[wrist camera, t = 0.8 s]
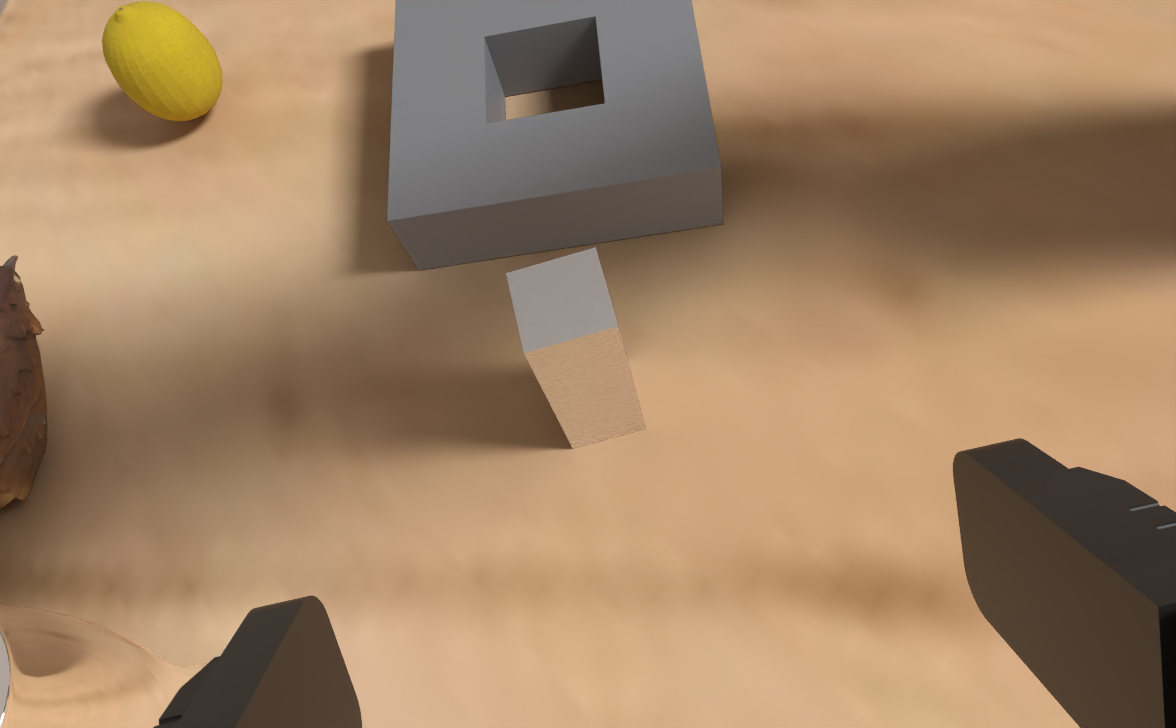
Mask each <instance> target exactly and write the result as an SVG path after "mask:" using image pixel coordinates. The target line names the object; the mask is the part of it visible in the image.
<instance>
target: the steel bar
mask: <svg viewBox="0 0 1176 728" xmlns="http://www.w3.org/2000/svg"><path fill="white" fill-rule="evenodd" d="M506 276H507V281H508V285H509V290H510V294H511V299H512V303H513V308H514V312H515V316H516V321H517V325H518V330H519V334H520V339H521V343H522V348H523V352H524V355H525V357H526V359H527V361H528V363H529V365H530V366H531V368H532V370H533V372H534V374H535V376H536V378H537V380H538V382H539V384H540V386H541V388H542V390H543V392H544V394H545V396H546V398H547V400H548V401H549V403H550V405H551V407H552V409H553V411H554V413H555V415H556V417H557V419H558V421H559V423H560V425H561V427H562V429H563V431H564V433H565V435H566V436H567V438H568V440H569V442H570V444H571V446H572V448H573V449H574V448H578V447H581V446H585V445H588V444H592V443H595V442H599V441H603V440H606V439H610V438H613V437H617V436H620V435H624V434H628V433H631V432H635V431H638V430H642V429H646V426H645V422H644V418H643V415H642V411H641V407H640V403H639V400H638V396H637V392H636V389H635V385H634V381H633V378H632V374H631V370H630V367H629V363H628V359H627V356H626V352H625V348H624V345H623V341H622V337H621V334H620V330H619V326H618V323H617V319H616V316H615V312H614V309H613V305H612V302H611V298H610V295H609V291H608V288H607V284H606V281H605V277H604V274H603V270H602V267H601V263H600V260H599V257H598V253H597V250H596V247H595V248H591V249H588V250H584V251H581V252H577V253H574V254H570V255H567V256H564V257H560V258H557V259H553V260H550V261H546V262H543V263H539V264H536V265H532V266H529V267H525V268H522V269H519V270H515V271H512V272H508V273H506Z"/></svg>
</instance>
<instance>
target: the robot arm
mask: <svg viewBox="0 0 1176 728" xmlns="http://www.w3.org/2000/svg"><path fill="white" fill-rule="evenodd" d="M953 477H954V485H955V493H956V501H957V509H958V518H959V526H960V534H961V542H962V550H963V558H964V566H965V572H966V576H967V580H968V583H969V586H970V589H971V592H972V594H973V597H974V599H975V601H976V603H977V605H978V607H979V609H980V611H981V612H982V614H983V615H984V617H985V618H986V619H987V621H988V622H989V623H990V624H991V625H992V626H993V627H994V629H995V630H996V631H997V632H998V633H999V634H1000V636H1001V637H1002V638H1003V639H1004V640H1005V641H1006V642H1007V644H1008V645H1009V646H1010V647H1011V648H1012V649H1013V650H1014V652H1015V653H1016V654H1017V655H1018V656H1019V657H1020V659H1021V660H1022V661H1023V662H1024V663H1025V664H1026V665H1027V667H1028V668H1029V669H1030V670H1031V671H1032V672H1033V674H1034V675H1035V676H1036V677H1037V678H1038V679H1039V680H1040V682H1041V683H1042V684H1043V685H1044V686H1045V687H1046V689H1047V690H1048V691H1049V692H1050V693H1051V694H1052V695H1053V697H1054V698H1055V699H1056V700H1057V701H1058V702H1059V704H1060V705H1061V706H1062V707H1063V708H1064V709H1065V710H1066V712H1067V713H1068V714H1069V715H1070V716H1071V717H1072V718H1073V720H1074V721H1075V722H1076V723H1077V724H1078V725H1079V727H1080V728H1176V512H1174V511H1173V510H1171V509H1169V508H1168V507H1166V506H1159V504H1158V501H1157V500H1155V499H1153V498H1152V497H1150V496H1149V495H1147V494H1145V493H1144V492H1142V491H1141V490H1139V489H1137V488H1136V487H1134V486H1133V485H1131V484H1129V483H1128V482H1126V481H1125V480H1121V479H1118V478H1115V477H1111V476H1108V475H1104V474H1101V473H1098V472H1094V471H1091V470H1088V469H1084V468H1081V467H1076V468H1071V469H1068V468H1067V467H1065V466H1064V465H1062V464H1061V463H1059V462H1058V461H1056V460H1055V459H1053V458H1052V457H1050V456H1049V455H1047V454H1046V453H1044V452H1043V451H1041V450H1040V449H1038V448H1037V447H1035V446H1034V445H1032V444H1031V443H1029V442H1028V441H1026V440H1024V439H1020V438H1019V439H1014V440H1010V441H1005V442H1001V443H996V444H992V445H987V446H983V447H978V448H974V449H969V450H965V451H960V452H958V453H957V454H956V455H955V458H954V462H953ZM153 728H362V720H361V712H360V707H359V703H358V699H357V696H356V693H355V690H354V688H353V685H352V682H351V679H350V676H349V674H348V671H347V668H346V665H345V662H344V659H343V657H342V654H341V651H340V648H339V645H338V643H337V640H336V637H335V634H334V631H333V629H332V626H331V623H330V620H329V617H328V615H327V612H326V610H325V608H324V606H323V604H322V603H321V601H320V600H319V599H318V598H317V597H315V596H307V597H303V598H298V599H294V600H289V601H285V602H280V603H276V604H271V605H267V606H262V607H258V608H254V609H252V610H251V611H250V612H249V613H248V614H247V616H246V617H245V619H244V621H243V622H242V624H241V625H240V627H239V628H238V630H237V631H236V633H235V634H234V636H233V638H232V639H231V641H230V642H229V644H228V645H227V647H226V648H225V650H224V652H223V653H222V655H221V656H219V657H215V658H214V659H213V660H211V661H210V662H209V663H208V664H207V665H206V666H205V667H203V668H202V669H201V670H200V671H199V672H198V673H197V674H195V675H194V676H193V677H192V678H191V679H190V680H189V681H188V682H186V683H185V684H184V685H183V686H182V687H181V688H180V689H179V690H178V692H177V693H176V695H175V696H174V698H173V699H172V701H171V702H170V704H169V705H168V707H167V708H166V709H165V711H164V712H163V714H162V715H161V717H160V718H159V725H157V726H154V727H153Z"/></svg>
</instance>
